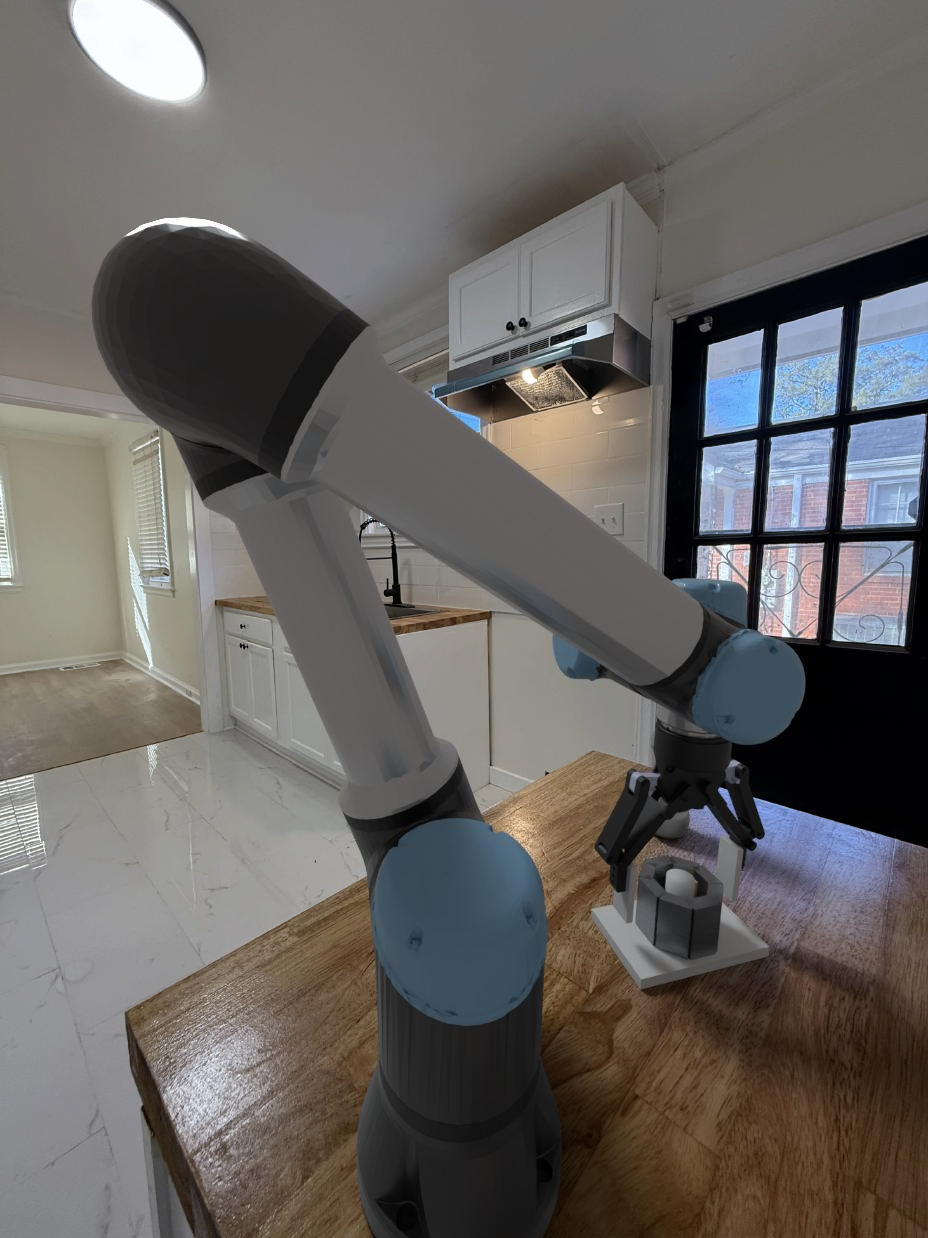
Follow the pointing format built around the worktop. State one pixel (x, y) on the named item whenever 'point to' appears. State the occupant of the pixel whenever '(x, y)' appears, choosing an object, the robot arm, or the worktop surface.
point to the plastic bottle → (680, 820)
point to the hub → (679, 909)
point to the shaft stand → (664, 967)
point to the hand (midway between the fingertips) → (675, 904)
